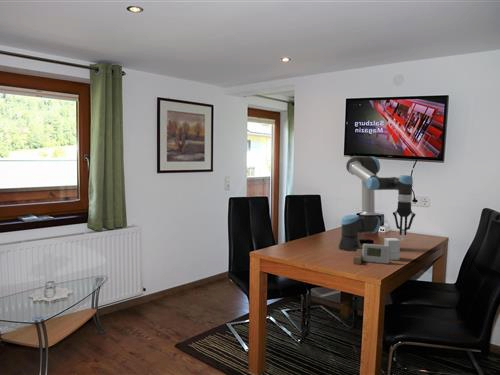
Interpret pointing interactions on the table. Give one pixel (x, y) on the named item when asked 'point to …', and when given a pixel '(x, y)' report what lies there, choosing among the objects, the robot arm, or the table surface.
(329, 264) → the table surface
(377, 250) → the digital clock
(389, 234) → the table surface
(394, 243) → the supplement box
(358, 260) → the walnut batten
